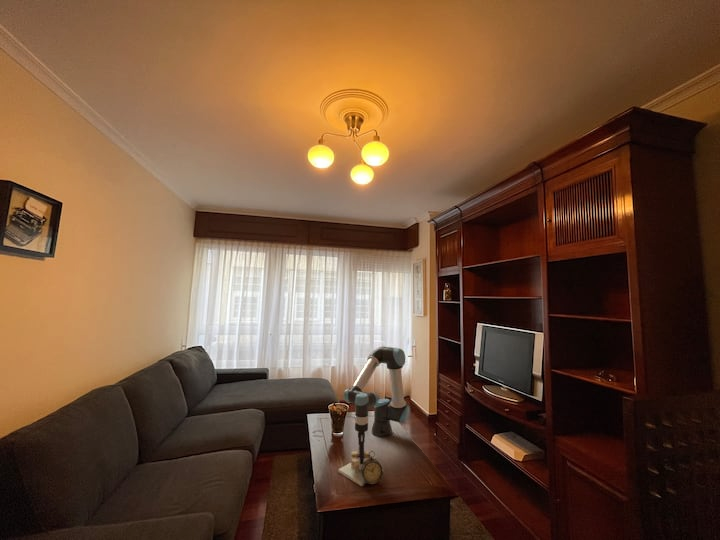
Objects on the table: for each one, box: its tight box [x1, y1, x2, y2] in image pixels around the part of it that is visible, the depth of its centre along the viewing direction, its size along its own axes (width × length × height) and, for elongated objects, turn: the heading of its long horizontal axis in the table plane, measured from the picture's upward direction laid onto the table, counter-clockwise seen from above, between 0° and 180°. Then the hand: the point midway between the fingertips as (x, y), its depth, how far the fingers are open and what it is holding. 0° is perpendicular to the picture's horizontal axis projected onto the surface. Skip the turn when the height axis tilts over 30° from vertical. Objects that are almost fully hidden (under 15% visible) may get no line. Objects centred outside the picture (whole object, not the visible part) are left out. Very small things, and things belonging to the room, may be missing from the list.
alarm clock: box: [361, 450, 384, 486], centre depth 153 cm, size 11×5×16 cm, turn 103°
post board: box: [337, 457, 384, 487], centre depth 163 cm, size 18×18×8 cm
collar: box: [350, 450, 371, 469], centre depth 163 cm, size 11×11×4 cm
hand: (360, 463), depth 163 cm, fingers closed on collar, 11 cm apart
